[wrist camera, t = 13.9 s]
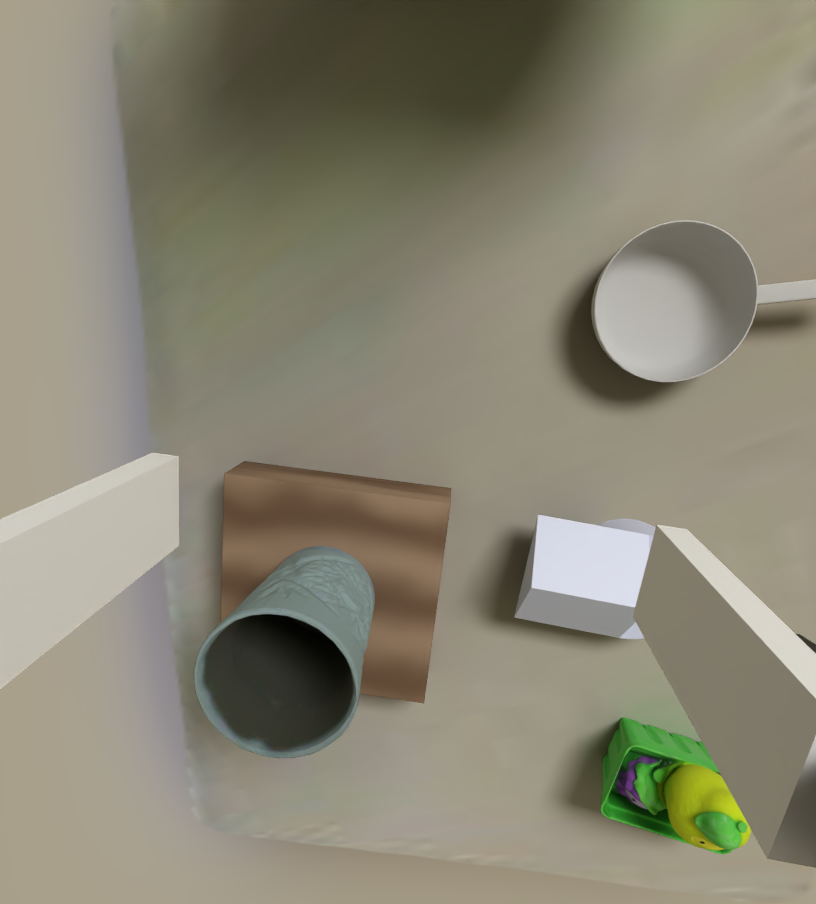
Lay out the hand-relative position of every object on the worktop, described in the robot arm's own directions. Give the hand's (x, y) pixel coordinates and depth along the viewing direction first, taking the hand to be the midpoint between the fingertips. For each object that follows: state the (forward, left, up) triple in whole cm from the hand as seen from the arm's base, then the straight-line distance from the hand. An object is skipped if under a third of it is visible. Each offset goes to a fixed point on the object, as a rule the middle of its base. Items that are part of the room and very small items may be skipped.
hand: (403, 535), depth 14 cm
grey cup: (+16, -7, -25) cm, 31 cm away
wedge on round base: (+12, +15, -29) cm, 35 cm away
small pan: (-10, +19, -29) cm, 36 cm away
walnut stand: (+16, -7, -29) cm, 34 cm away
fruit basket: (+29, +24, -29) cm, 48 cm away
